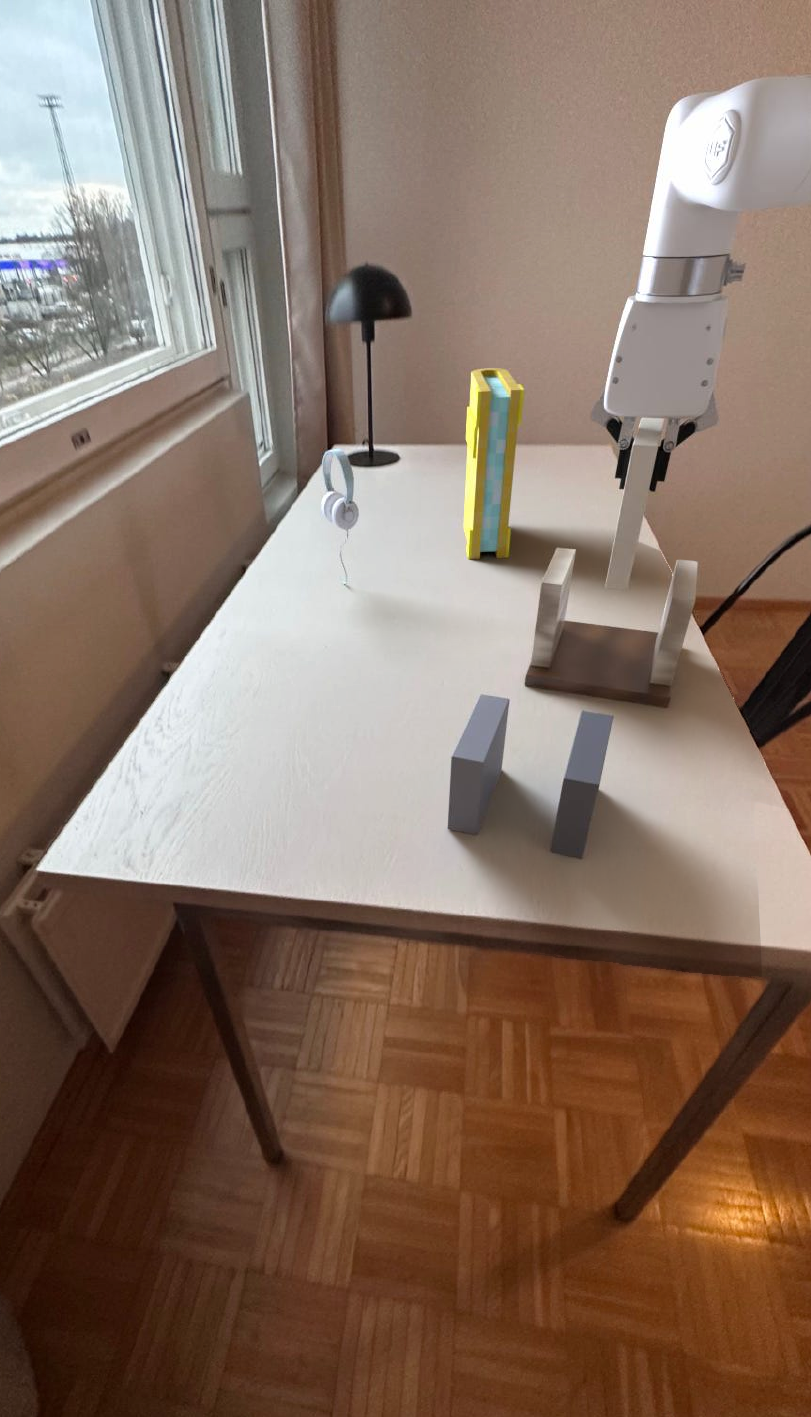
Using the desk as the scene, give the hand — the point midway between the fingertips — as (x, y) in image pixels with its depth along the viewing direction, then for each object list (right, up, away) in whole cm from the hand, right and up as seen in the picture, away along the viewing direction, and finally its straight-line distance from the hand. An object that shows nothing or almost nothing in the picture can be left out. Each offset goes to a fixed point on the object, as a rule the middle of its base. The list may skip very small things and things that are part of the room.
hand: (638, 485), depth 78 cm
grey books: (-14, -35, -6) cm, 38 cm away
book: (-9, +12, +48) cm, 51 cm away
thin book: (0, -7, +6) cm, 10 cm away
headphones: (-33, 0, +37) cm, 50 cm away
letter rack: (+1, -17, +15) cm, 22 cm away
